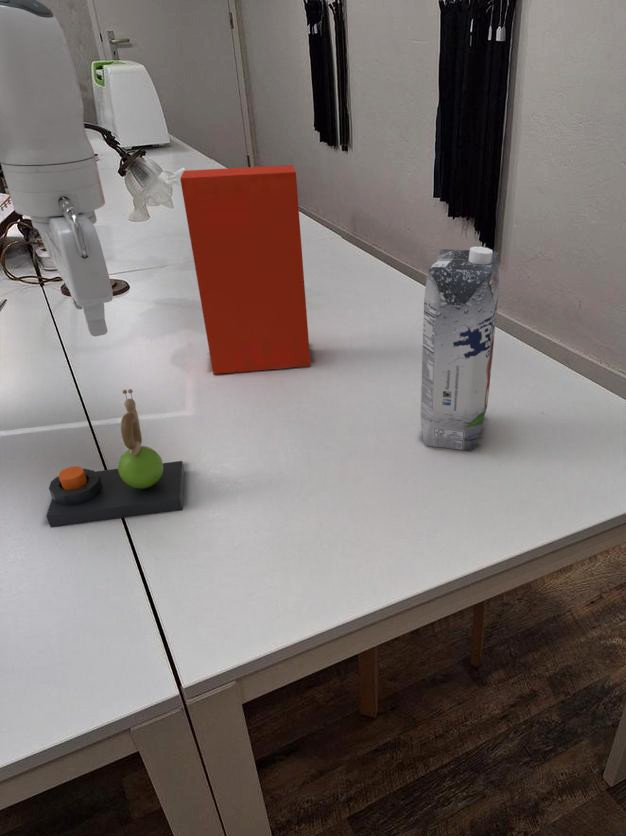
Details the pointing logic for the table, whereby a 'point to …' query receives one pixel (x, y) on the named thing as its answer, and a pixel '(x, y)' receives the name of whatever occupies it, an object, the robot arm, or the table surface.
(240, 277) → the file binder
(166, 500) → the orange push button base
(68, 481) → the button
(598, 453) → the table surface
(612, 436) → the table surface
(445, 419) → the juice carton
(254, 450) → the table surface
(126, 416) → the snail figurine
